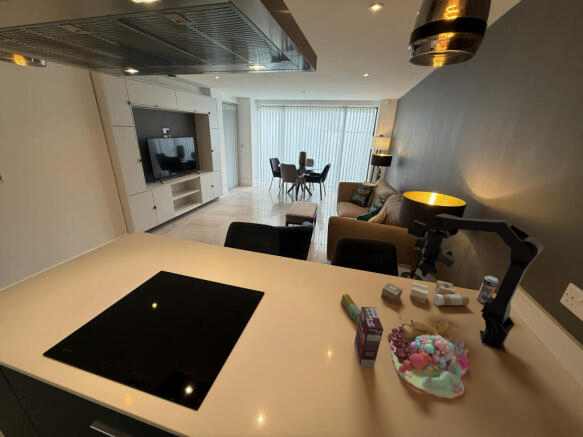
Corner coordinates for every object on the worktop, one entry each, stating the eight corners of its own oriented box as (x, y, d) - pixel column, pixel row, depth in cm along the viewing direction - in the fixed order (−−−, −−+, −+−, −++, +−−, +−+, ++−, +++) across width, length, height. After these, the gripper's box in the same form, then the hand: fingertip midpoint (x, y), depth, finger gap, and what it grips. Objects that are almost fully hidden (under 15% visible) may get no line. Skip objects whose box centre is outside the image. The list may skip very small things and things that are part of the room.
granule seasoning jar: (459, 300, 103) (431, 300, 101) (463, 291, 101) (434, 292, 100) (468, 307, 98) (438, 307, 97) (471, 298, 97) (441, 299, 96)
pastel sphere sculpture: (382, 323, 88) (386, 303, 85) (447, 333, 85) (455, 314, 82) (399, 390, 65) (407, 368, 62) (491, 408, 62) (504, 385, 59)
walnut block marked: (393, 304, 98) (396, 294, 96) (380, 297, 102) (383, 287, 100) (400, 298, 102) (402, 288, 100) (387, 291, 106) (389, 282, 104)
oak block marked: (452, 300, 102) (455, 291, 100) (436, 296, 104) (440, 287, 102) (449, 292, 107) (452, 283, 106) (434, 289, 109) (437, 280, 108)
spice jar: (477, 301, 102) (486, 279, 98) (474, 295, 106) (484, 273, 102) (490, 305, 100) (500, 283, 96) (487, 299, 104) (497, 277, 100)
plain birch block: (424, 303, 100) (427, 294, 98) (409, 298, 102) (411, 288, 101) (425, 295, 104) (428, 286, 103) (410, 290, 107) (413, 281, 105)
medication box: (360, 323, 88) (363, 315, 86) (354, 323, 87) (357, 315, 85) (345, 301, 98) (348, 293, 97) (340, 301, 97) (342, 293, 96)
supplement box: (353, 342, 79) (360, 305, 73) (367, 343, 79) (376, 307, 73) (358, 366, 71) (367, 327, 65) (374, 367, 71) (384, 328, 65)
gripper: (458, 259, 82) (445, 295, 88) (456, 241, 97) (445, 272, 103) (423, 250, 88) (413, 284, 93) (426, 234, 103) (418, 264, 108)
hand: (423, 276), depth 99 cm, fingers closed
